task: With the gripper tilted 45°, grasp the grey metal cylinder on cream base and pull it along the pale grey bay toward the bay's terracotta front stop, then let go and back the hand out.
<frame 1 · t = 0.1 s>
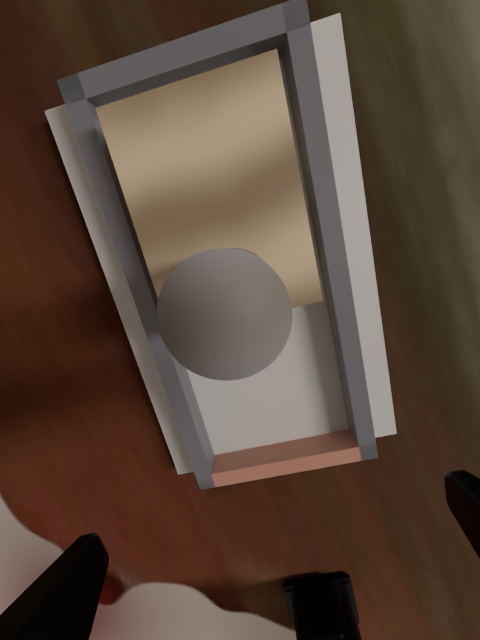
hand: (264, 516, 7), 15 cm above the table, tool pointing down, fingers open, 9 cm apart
bay: (242, 290, 20), on the table
cylinder on cream base: (211, 205, 13), point 7 cm above the table, slide at 0.0 cm
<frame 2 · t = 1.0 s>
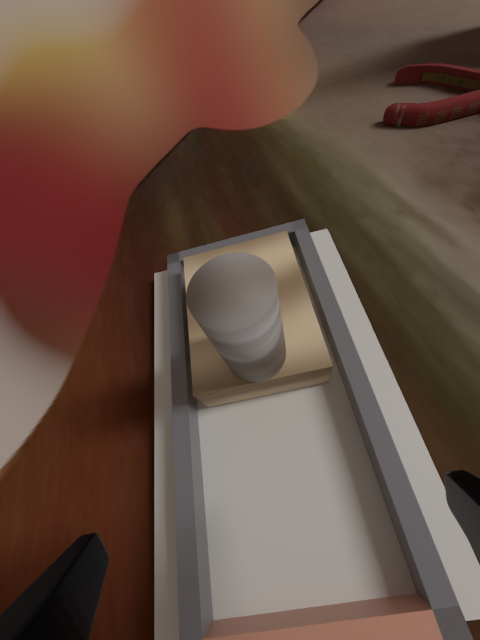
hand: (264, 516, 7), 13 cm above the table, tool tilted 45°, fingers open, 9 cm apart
bay: (266, 386, 22), on the table
cylinder on cream base: (240, 287, 19), point 7 cm above the table, slide at 0.0 cm
pliers: (463, 114, 34), on the table
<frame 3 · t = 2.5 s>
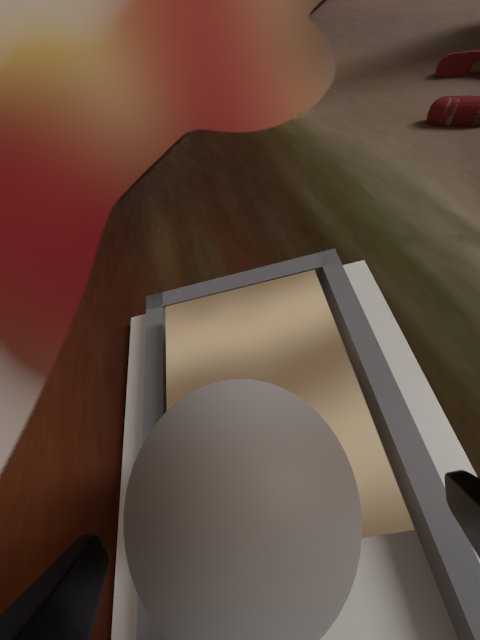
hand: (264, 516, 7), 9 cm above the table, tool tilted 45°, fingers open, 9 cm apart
bay: (287, 505, 15), on the table
cylinder on cream base: (249, 374, 11), point 7 cm above the table, slide at 0.0 cm
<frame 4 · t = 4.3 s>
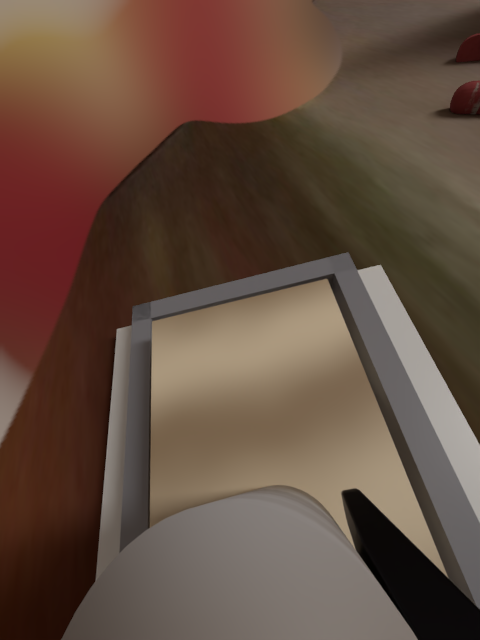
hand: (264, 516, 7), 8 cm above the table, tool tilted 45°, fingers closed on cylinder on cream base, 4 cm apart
bay: (295, 560, 12), on the table
cylinder on cream base: (251, 416, 9), point 7 cm above the table, slide at 0.0 cm, touching gripper
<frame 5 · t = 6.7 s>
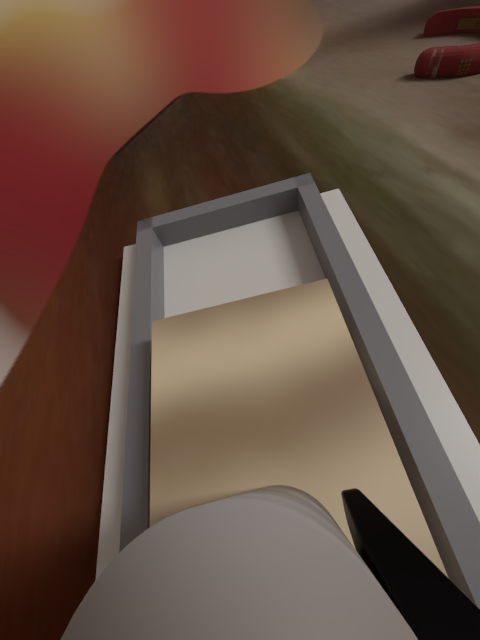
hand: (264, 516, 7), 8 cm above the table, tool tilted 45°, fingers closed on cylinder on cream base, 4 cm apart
bay: (261, 386, 16), on the table
cylinder on cream base: (251, 416, 9), point 7 cm above the table, slide at 8.0 cm, touching gripper
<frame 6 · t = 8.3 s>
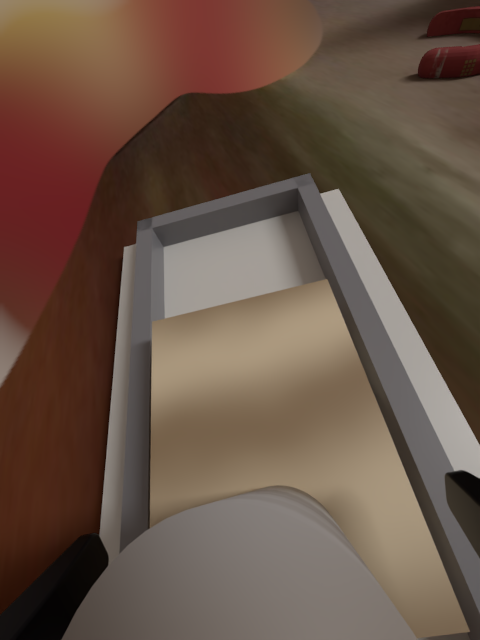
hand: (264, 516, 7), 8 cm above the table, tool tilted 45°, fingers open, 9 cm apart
bay: (261, 386, 16), on the table
cylinder on cream base: (251, 417, 9), point 7 cm above the table, slide at 8.0 cm
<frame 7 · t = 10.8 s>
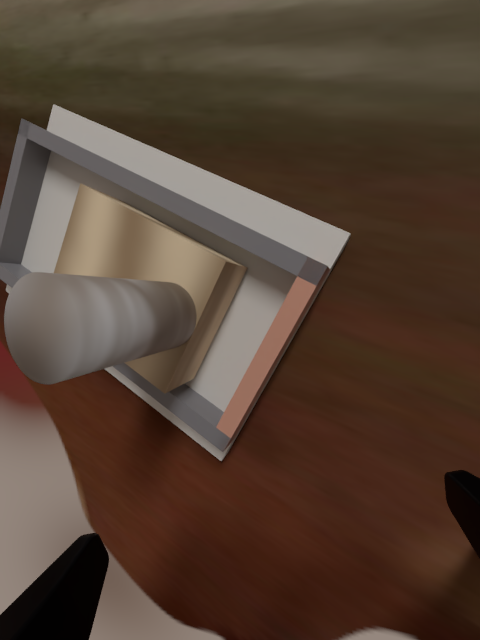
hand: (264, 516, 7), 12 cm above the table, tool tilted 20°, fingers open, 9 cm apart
bay: (139, 270, 23), on the table
cylinder on cream base: (94, 283, 16), point 7 cm above the table, slide at 8.0 cm
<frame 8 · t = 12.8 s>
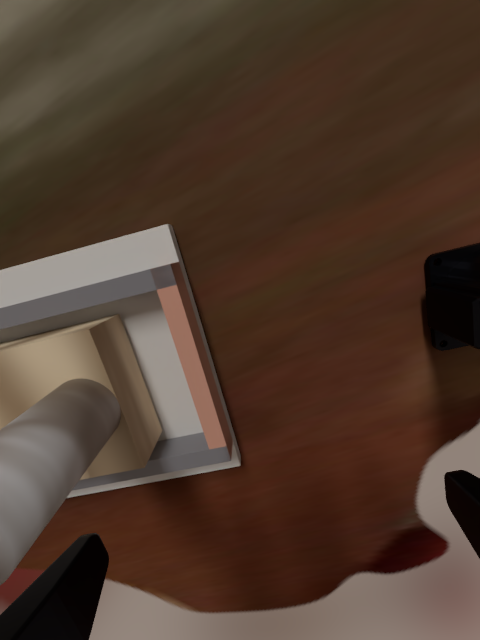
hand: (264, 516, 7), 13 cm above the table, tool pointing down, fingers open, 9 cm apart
bay: (38, 392, 21), on the table
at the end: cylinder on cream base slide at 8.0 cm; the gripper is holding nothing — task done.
